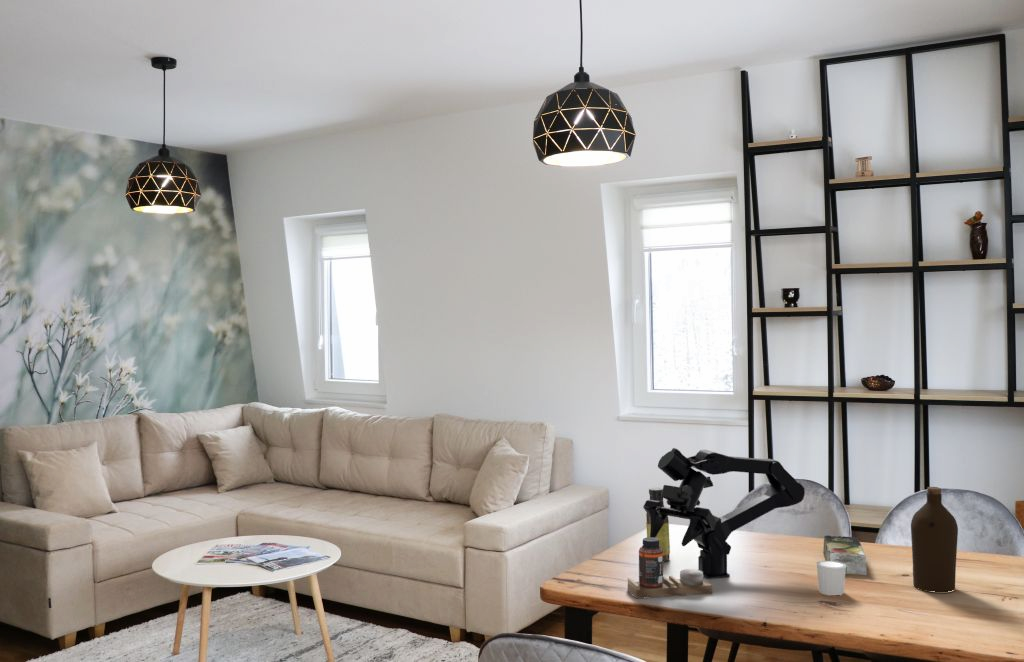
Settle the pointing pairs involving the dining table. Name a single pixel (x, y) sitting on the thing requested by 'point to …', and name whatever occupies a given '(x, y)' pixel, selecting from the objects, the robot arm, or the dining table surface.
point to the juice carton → (846, 553)
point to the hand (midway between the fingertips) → (666, 542)
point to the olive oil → (934, 545)
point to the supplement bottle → (651, 563)
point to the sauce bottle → (664, 531)
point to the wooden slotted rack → (673, 585)
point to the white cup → (831, 577)
